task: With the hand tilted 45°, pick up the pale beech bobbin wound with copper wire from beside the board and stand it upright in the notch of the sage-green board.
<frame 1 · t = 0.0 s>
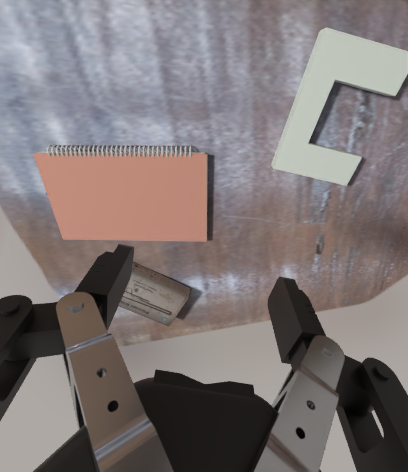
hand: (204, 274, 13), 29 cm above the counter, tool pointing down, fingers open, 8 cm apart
notched board: (331, 116, 35), on the counter
box: (147, 285, 54), on the counter
notebook: (130, 194, 43), on the counter
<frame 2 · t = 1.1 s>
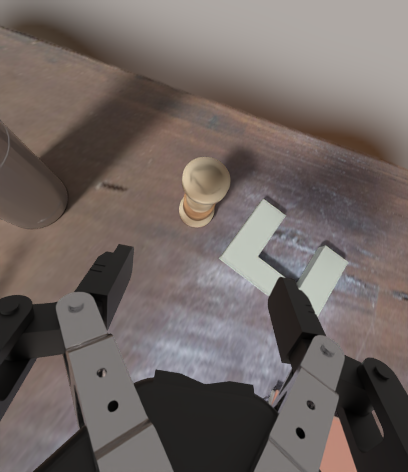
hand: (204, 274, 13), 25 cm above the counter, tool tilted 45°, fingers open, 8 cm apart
notched board: (281, 261, 40), on the counter
bobbin: (196, 211, 40), on the counter
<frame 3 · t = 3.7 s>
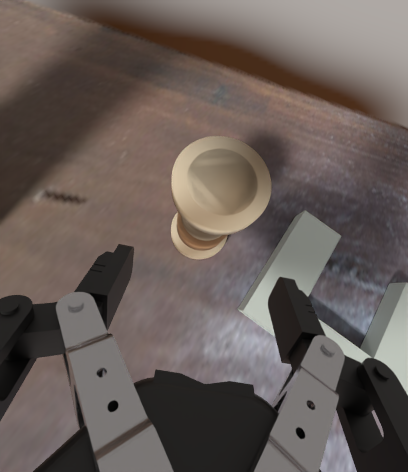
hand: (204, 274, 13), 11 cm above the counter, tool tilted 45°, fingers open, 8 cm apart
notched board: (335, 308, 25), on the counter
bobbin: (198, 232, 25), on the counter
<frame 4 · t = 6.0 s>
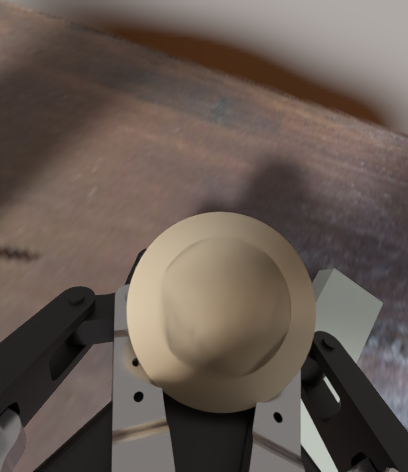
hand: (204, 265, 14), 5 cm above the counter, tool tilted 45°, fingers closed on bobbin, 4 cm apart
notched board: (374, 399, 19), on the counter
bobbin: (191, 297, 19), on the counter, touching gripper
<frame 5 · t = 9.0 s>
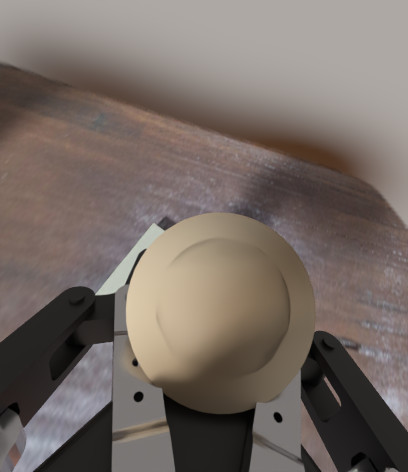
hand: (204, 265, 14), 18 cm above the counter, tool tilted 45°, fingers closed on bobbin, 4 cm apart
notched board: (179, 304, 30), on the counter
bobbin: (190, 297, 19), point 12 cm above the counter, touching gripper
when the fingers open (7 cm above the counter, at t = 12.1 s): bobbin drops 1 cm, on the counter.
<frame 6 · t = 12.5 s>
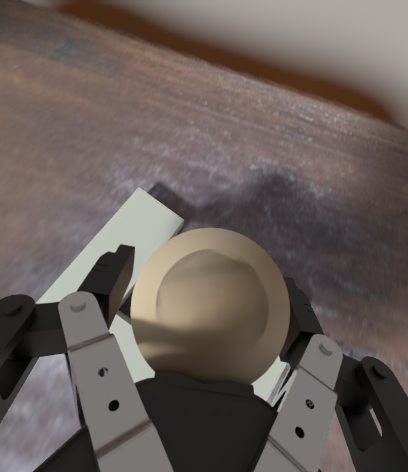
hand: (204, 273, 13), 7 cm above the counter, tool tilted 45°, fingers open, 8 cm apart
notched board: (178, 312, 20), on the counter
bobbin: (189, 298, 20), on the counter
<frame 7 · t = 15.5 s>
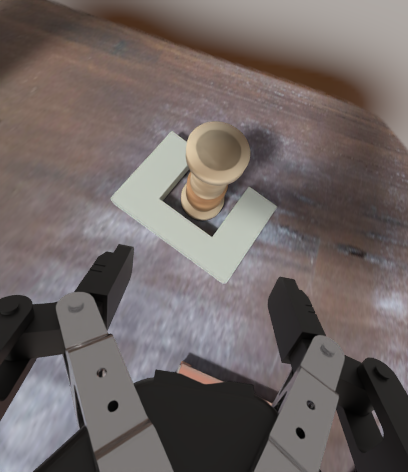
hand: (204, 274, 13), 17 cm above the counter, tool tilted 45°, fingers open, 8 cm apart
notched board: (195, 208, 32), on the counter
bobbin: (201, 200, 33), on the counter
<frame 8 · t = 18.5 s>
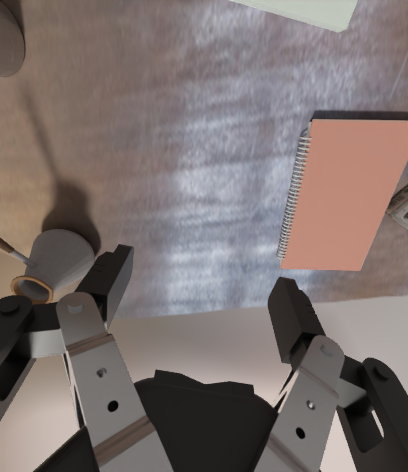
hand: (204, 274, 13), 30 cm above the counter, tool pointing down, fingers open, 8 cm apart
notebook: (332, 202, 44), on the counter
coffee pot: (61, 226, 47), on the counter
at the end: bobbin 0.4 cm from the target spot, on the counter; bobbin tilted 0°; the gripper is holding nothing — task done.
